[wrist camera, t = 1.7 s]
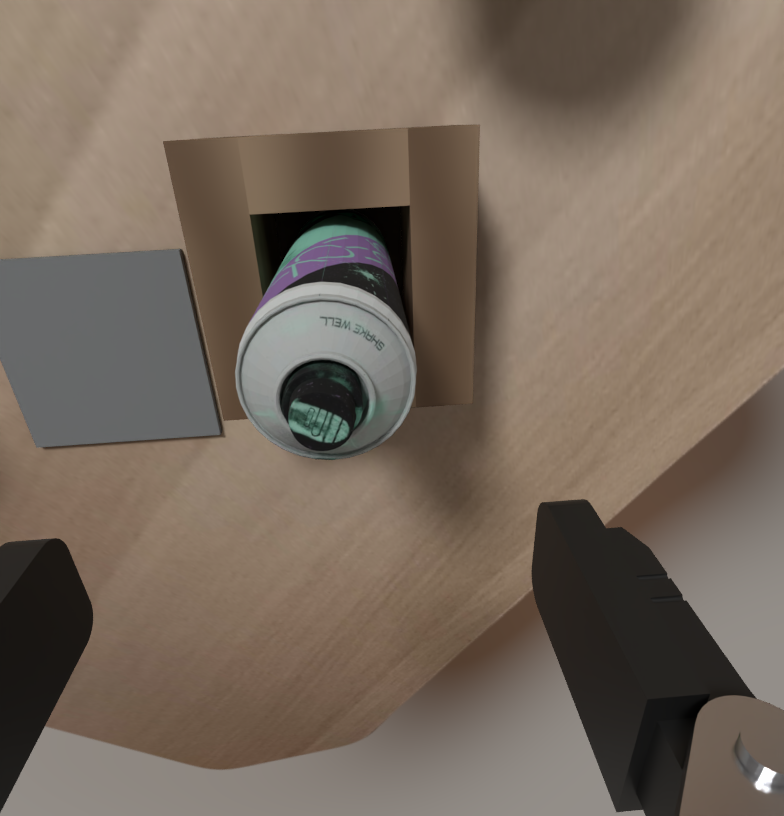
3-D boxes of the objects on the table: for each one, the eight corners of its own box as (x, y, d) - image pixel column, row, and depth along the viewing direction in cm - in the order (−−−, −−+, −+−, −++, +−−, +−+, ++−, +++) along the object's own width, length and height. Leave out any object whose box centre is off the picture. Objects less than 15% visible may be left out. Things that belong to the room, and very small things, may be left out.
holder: (452, 125, 29) (479, 124, 22) (451, 354, 35) (472, 403, 28) (205, 138, 28) (163, 141, 22) (247, 367, 34) (223, 420, 28)
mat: (181, 248, 31) (179, 250, 30) (221, 431, 36) (220, 434, 36) (-35, 261, 30) (-40, 263, 30) (39, 444, 36) (36, 447, 35)
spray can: (396, 293, 33) (443, 490, 15) (307, 311, 33) (250, 527, 15) (377, 198, 30) (409, 299, 12) (282, 218, 30) (177, 346, 13)
